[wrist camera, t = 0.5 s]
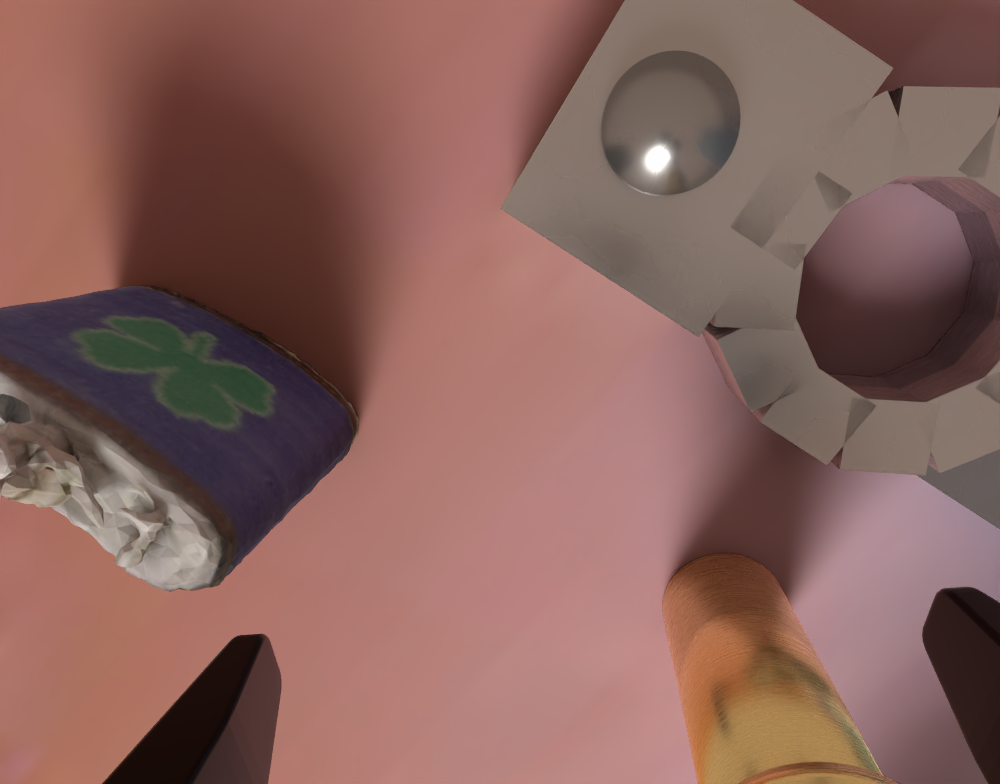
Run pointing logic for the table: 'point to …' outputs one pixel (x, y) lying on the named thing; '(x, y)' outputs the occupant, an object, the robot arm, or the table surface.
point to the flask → (161, 428)
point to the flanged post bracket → (779, 217)
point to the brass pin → (756, 682)
